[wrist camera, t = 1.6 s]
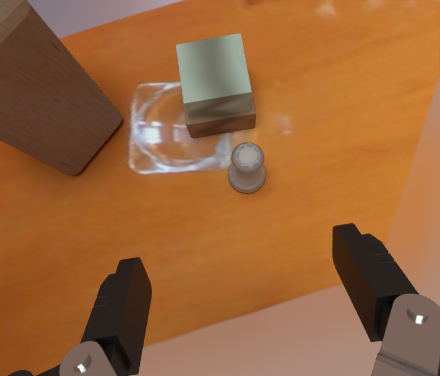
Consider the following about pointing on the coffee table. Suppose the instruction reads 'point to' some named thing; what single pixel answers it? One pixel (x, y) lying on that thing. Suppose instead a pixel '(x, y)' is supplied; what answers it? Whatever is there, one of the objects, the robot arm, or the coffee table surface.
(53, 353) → the coffee table surface
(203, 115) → the tower base
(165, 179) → the coffee table surface
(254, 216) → the coffee table surface
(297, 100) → the coffee table surface
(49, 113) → the block
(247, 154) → the rook chess piece
